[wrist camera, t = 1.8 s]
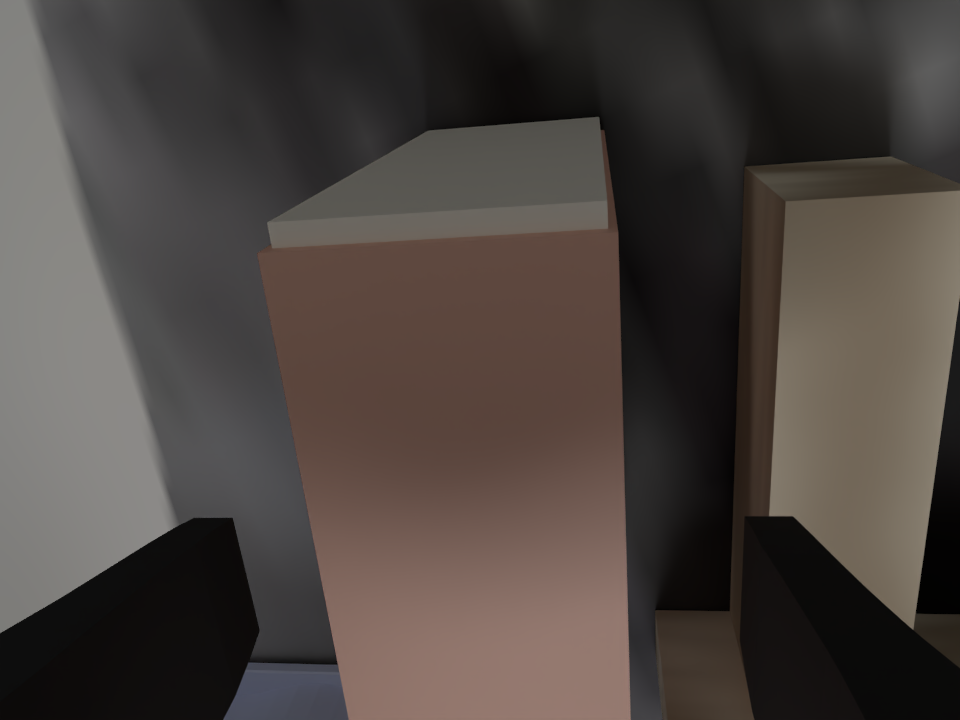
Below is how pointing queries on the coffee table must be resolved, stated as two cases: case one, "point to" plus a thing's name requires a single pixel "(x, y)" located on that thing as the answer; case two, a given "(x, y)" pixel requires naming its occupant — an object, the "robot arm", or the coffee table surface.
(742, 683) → the book rack
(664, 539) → the coffee table surface
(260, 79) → the coffee table surface
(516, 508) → the book
